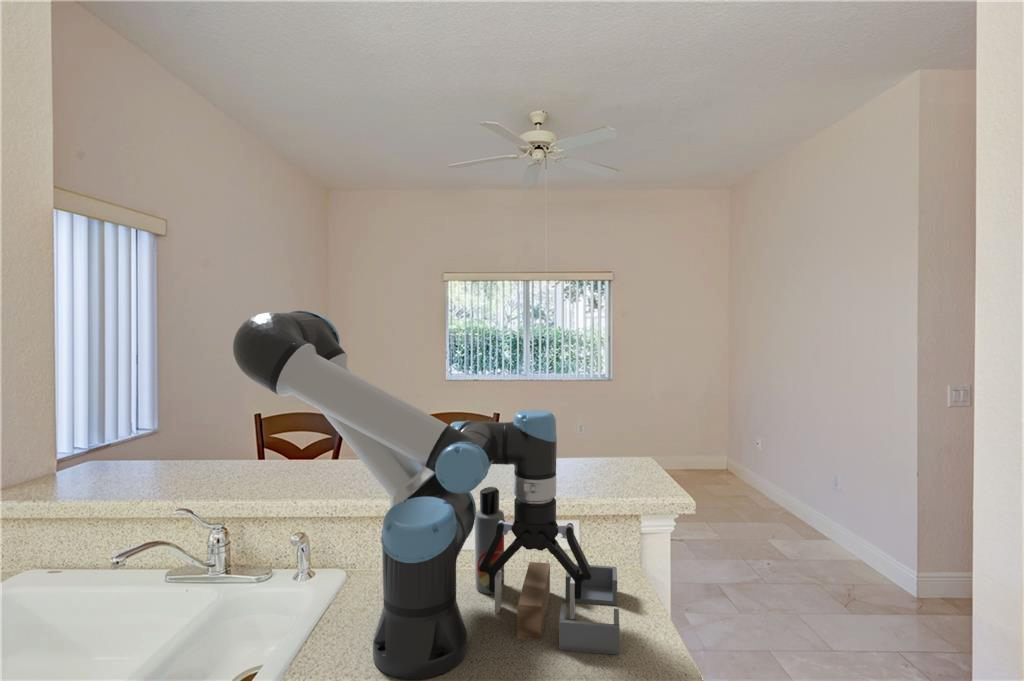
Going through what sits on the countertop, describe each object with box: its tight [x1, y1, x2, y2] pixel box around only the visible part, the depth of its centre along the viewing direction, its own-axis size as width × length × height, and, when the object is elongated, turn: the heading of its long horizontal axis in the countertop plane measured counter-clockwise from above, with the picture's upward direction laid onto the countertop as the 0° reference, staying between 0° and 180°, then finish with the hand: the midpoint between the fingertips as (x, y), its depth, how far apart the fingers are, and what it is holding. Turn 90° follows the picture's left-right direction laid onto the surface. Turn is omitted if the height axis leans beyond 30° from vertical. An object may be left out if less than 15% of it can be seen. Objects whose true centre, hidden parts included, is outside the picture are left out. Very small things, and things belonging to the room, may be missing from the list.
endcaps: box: [558, 563, 620, 656], centre depth 102 cm, size 10×21×5 cm, turn 171°
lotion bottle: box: [474, 486, 505, 595], centre depth 112 cm, size 6×6×20 cm
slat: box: [517, 561, 551, 641], centre depth 103 cm, size 4×16×6 cm, turn 171°
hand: (535, 611), depth 103 cm, fingers open, 13 cm apart
